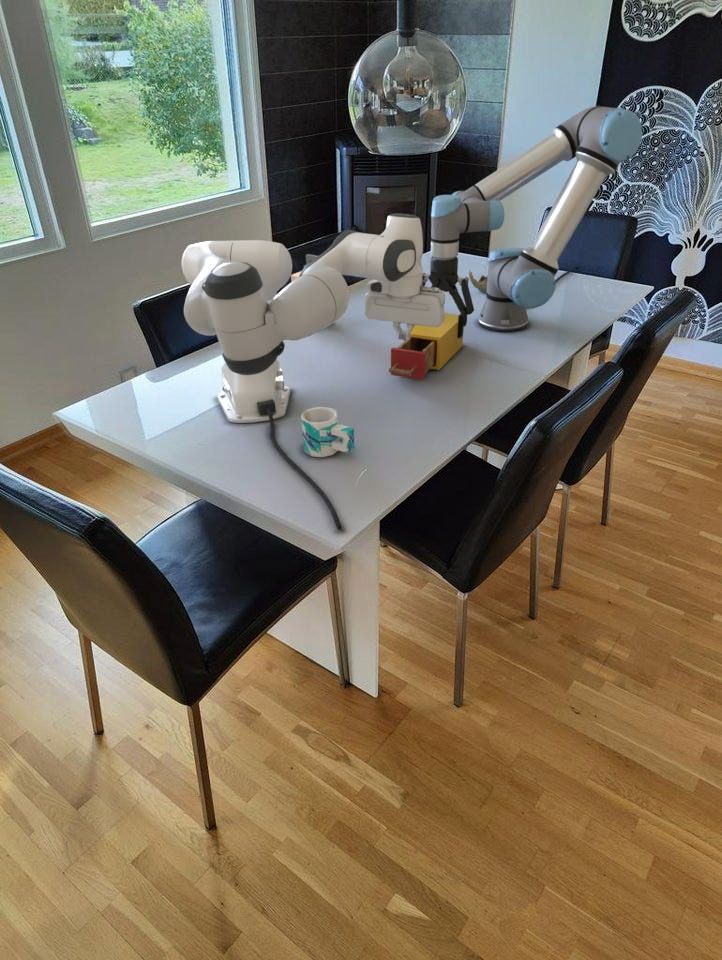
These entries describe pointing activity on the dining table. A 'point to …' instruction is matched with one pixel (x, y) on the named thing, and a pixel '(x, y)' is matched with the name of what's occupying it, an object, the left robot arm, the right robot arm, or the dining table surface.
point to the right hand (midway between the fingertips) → (441, 334)
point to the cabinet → (442, 338)
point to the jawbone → (479, 282)
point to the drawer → (413, 358)
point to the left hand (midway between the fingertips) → (403, 339)
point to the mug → (325, 433)
